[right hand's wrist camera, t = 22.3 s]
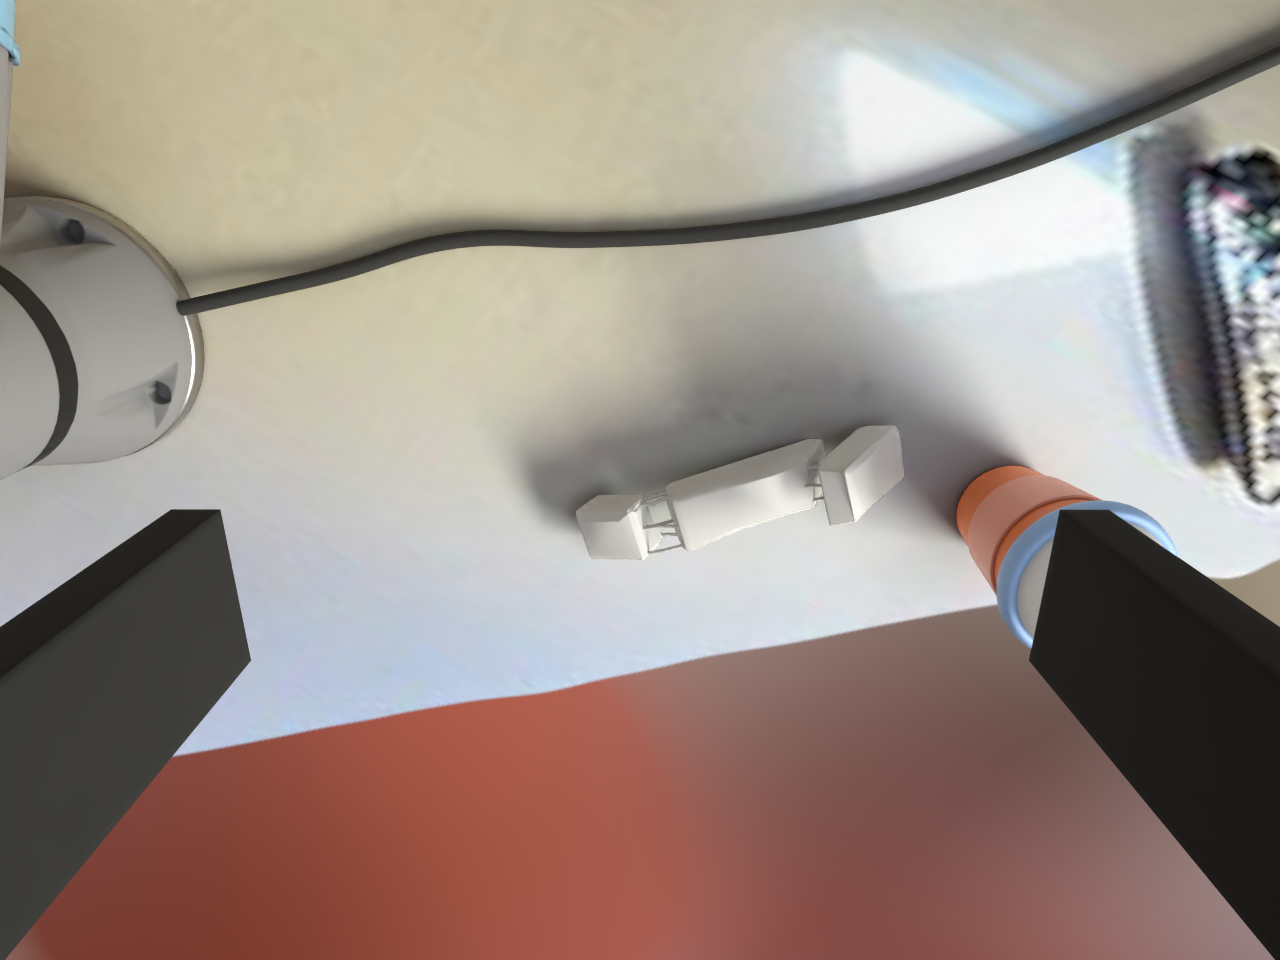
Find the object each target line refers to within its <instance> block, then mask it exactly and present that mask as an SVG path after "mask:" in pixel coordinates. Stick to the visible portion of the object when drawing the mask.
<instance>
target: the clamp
mask: <svg viewBox="0 0 1280 960" xmlns="http://www.w3.org/2000/svg"><path fill="white" fill-rule="evenodd" d="M904 476H905V474H904V466H903V458H902V450H901V441H900V433H899V430H898V429H897V428H896V426H894V425H876V426H865V427H861V428H858V429H857V430H856V431H854V432H853V433H852V434H851V435H850V436H849V437H848V438H846V439H845V440H844V441H843V442H842V443H841V444H839V445H838V446H837V447H836V448H835V449H834V450H832V451H831V452H830V453H829V454H828V455H827V456H826V457H825V451H824V444H823V440H819V439H806V440H803V441H800V442H797V443H793V444H790V445H787V446H784V447H781V448H778V449H775V450H771V451H768V452H765V453H762V454H759V455H756V456H753V457H749V458H746V459H743V460H740V461H737V462H734V463H731V464H727V465H724V466H721V467H718V468H715V469H712V470H709V471H706V472H702V473H699V474H696V475H693V476H690V477H687V478H684V479H680V480H677V481H674V482H671V483H669V484H668V485H667V486H666V487H665V489H664V492H662V493H659V494H655V495H652V496H648V497H644V496H643V495H641V494H624V495H597V496H596V497H594V498H593V499H591V500H590V501H589V502H587V503H586V504H585V505H583V506H582V507H580V508H579V509H578V510H577V511H576V518H577V520H578V523H579V526H580V529H581V532H582V535H583V538H584V541H585V544H586V547H587V550H588V553H589V556H590V557H591V559H627V560H643V559H645V558H646V557H647V556H648V555H649V554H655V553H661V552H666V551H670V550H674V549H677V548H681V547H683V548H684V549H686V550H687V551H691V550H695V549H697V548H700V547H702V546H704V545H707V544H709V543H711V542H713V541H716V540H718V539H720V538H723V537H725V536H727V535H730V534H732V533H734V532H737V531H739V530H742V529H745V528H748V527H751V526H754V525H757V524H761V523H764V522H767V521H770V520H773V519H776V518H779V517H783V516H786V515H790V514H793V513H797V512H801V511H805V510H809V509H813V508H814V507H815V506H816V503H817V501H820V500H824V502H825V506H826V511H827V515H828V520H829V524H830V526H833V525H839V524H846V523H852V522H857V520H858V519H859V518H860V517H861V516H862V515H863V514H864V513H865V512H866V511H867V510H868V509H869V508H870V507H871V506H872V505H873V504H874V503H875V502H876V501H878V500H879V499H880V498H881V497H882V496H883V495H885V494H886V493H887V492H888V491H889V490H890V489H892V488H893V487H894V486H895V485H896V484H897V483H899V482H900V481H901V480H902V479H903V478H904ZM822 493H823V497H820V496H821V494H822ZM663 495H665V497H664V498H661V499H659V500H656V501H654V502H649V503H646V501H645V500H649V499H653V498H656V497H659V496H663ZM664 500H667V504H668V507H669V511H670V514H671V517H672V519H671V520H668V521H665V522H661V523H658V524H655V523H654V521H653V520H652V517H651V515H650V512H649V509H648V506H651V505H654V504H657V503H659V502H662V501H664ZM672 522H673V524H674V525H665V524H669V523H672ZM658 528H675V531H676V533H661V532H660V530H659V529H658ZM663 536H678V538H679V540H680V542H681V544H680V545H676V546H673V547H669V548H665V549H660V550H654V549H655V548H656V547H657V546H658V545H659V543H660V541H661V539H662V537H663ZM653 550H654V551H653Z"/></svg>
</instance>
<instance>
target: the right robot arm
mask: <svg viewBox="0 0 1280 960" xmlns="http://www.w3.org/2000/svg"><path fill="white" fill-rule="evenodd" d="M14 22H15V0H0V480H1V479H3V478H5V477H7V476H9V475H11V474H13V473H15V472H17V471H20V470H22V469H24V468H26V467H29V466H41V465H64V464H87V463H98V462H104V461H109V460H113V459H116V458H120V457H123V456H127V455H130V454H132V453H135V452H138V451H140V450H142V449H144V448H146V447H147V446H149V445H151V444H153V443H155V442H157V441H159V440H161V439H162V438H163V437H165V436H166V435H168V434H169V433H170V432H171V431H173V430H174V429H175V428H176V427H177V426H178V425H179V424H180V423H181V422H182V421H183V419H184V418H185V417H186V415H187V414H188V412H189V411H190V409H191V407H192V406H193V404H194V402H195V400H196V397H197V395H198V392H199V389H200V385H201V382H202V377H203V370H204V343H203V337H202V331H201V327H200V323H199V319H198V316H197V313H199V312H204V311H208V310H212V309H217V308H221V307H226V306H230V305H234V304H239V303H243V302H247V301H252V300H256V299H261V298H265V297H270V296H274V295H279V294H283V293H288V292H292V291H297V290H301V289H306V288H310V287H314V286H318V285H323V284H327V283H331V282H335V281H339V280H342V279H346V278H349V277H353V276H356V275H360V274H363V273H366V272H369V271H372V270H375V269H378V268H381V267H384V266H387V265H390V264H393V263H396V262H399V261H403V260H406V259H409V258H413V257H416V256H420V255H424V254H429V253H433V252H438V251H443V250H449V249H456V248H464V247H475V246H532V247H554V248H598V247H630V246H655V245H674V244H688V243H701V242H711V241H721V240H731V239H740V238H749V237H757V236H765V235H773V234H780V233H787V232H794V231H800V230H806V229H812V228H817V227H823V226H828V225H833V224H838V223H843V222H848V221H853V220H857V219H862V218H866V217H871V216H875V215H880V214H884V213H888V212H892V211H896V210H900V209H904V208H908V207H912V206H916V205H920V204H923V203H927V202H930V201H934V200H937V199H941V198H944V197H947V196H951V195H954V194H957V193H960V192H963V191H967V190H970V189H973V188H976V187H979V186H982V185H985V184H988V183H991V182H994V181H997V180H1000V179H1003V178H1006V177H1009V176H1012V175H1015V174H1018V173H1021V172H1024V171H1026V170H1029V169H1032V168H1035V167H1037V166H1040V165H1043V164H1046V163H1048V162H1051V161H1054V160H1056V159H1059V158H1061V157H1064V156H1067V155H1069V154H1072V153H1074V152H1077V151H1079V150H1082V149H1084V148H1087V147H1089V146H1091V145H1094V144H1096V143H1099V142H1101V141H1104V140H1106V139H1109V138H1111V137H1113V136H1116V135H1118V134H1121V133H1123V132H1125V131H1128V130H1130V129H1133V128H1135V127H1138V126H1140V125H1142V124H1145V123H1147V122H1150V121H1152V120H1154V119H1157V118H1159V117H1161V116H1164V115H1166V114H1168V113H1171V112H1173V111H1175V110H1178V109H1180V108H1182V107H1185V106H1187V105H1189V104H1191V103H1194V102H1196V101H1198V100H1200V99H1203V98H1205V97H1207V96H1209V95H1212V94H1214V93H1216V92H1218V91H1220V90H1223V89H1225V88H1227V87H1229V86H1232V85H1234V84H1236V83H1238V82H1240V81H1243V80H1245V79H1247V78H1249V77H1252V76H1254V75H1256V74H1258V73H1260V72H1263V71H1265V70H1267V69H1270V68H1272V67H1274V66H1276V65H1279V64H1280V47H1277V48H1275V49H1273V50H1270V51H1268V52H1266V53H1264V54H1261V55H1259V56H1257V57H1255V58H1253V59H1250V60H1248V61H1246V62H1244V63H1241V64H1239V65H1237V66H1235V67H1233V68H1230V69H1228V70H1226V71H1224V72H1222V73H1219V74H1217V75H1215V76H1213V77H1211V78H1208V79H1206V80H1204V81H1202V82H1200V83H1197V84H1195V85H1193V86H1191V87H1188V88H1186V89H1184V90H1182V91H1179V92H1177V93H1175V94H1173V95H1170V96H1168V97H1166V98H1163V99H1161V100H1159V101H1156V102H1154V103H1152V104H1149V105H1147V106H1145V107H1142V108H1140V109H1137V110H1135V111H1133V112H1130V113H1128V114H1125V115H1123V116H1121V117H1118V118H1116V119H1113V120H1111V121H1109V122H1106V123H1104V124H1101V125H1099V126H1096V127H1094V128H1092V129H1089V130H1087V131H1084V132H1082V133H1079V134H1077V135H1074V136H1072V137H1069V138H1067V139H1064V140H1062V141H1059V142H1057V143H1054V144H1052V145H1049V146H1046V147H1044V148H1041V149H1038V150H1036V151H1033V152H1030V153H1027V154H1025V155H1022V156H1019V157H1016V158H1013V159H1010V160H1008V161H1005V162H1002V163H999V164H996V165H993V166H990V167H987V168H984V169H981V170H978V171H975V172H972V173H969V174H965V175H962V176H959V177H956V178H953V179H950V180H946V181H943V182H940V183H936V184H933V185H930V186H926V187H922V188H919V189H915V190H911V191H908V192H904V193H900V194H896V195H892V196H888V197H884V198H879V199H875V200H871V201H866V202H862V203H857V204H853V205H848V206H843V207H839V208H834V209H829V210H824V211H818V212H813V213H807V214H801V215H795V216H789V217H782V218H775V219H767V220H759V221H751V222H743V223H734V224H724V225H715V226H704V227H693V228H680V229H663V230H641V231H611V232H543V231H522V230H479V231H466V232H458V233H450V234H444V235H438V236H433V237H428V238H423V239H419V240H415V241H412V242H408V243H404V244H401V245H398V246H395V247H392V248H388V249H385V250H382V251H379V252H376V253H373V254H370V255H367V256H364V257H361V258H358V259H355V260H352V261H348V262H345V263H342V264H338V265H334V266H331V267H327V268H323V269H319V270H314V271H310V272H306V273H302V274H297V275H293V276H288V277H284V278H279V279H274V280H270V281H265V282H261V283H256V284H252V285H248V286H243V287H239V288H234V289H230V290H226V291H221V292H217V293H213V294H208V295H204V296H199V297H195V298H190V296H189V294H188V292H187V290H186V289H185V287H184V285H183V283H182V281H181V280H180V278H179V277H178V275H177V274H176V272H175V271H174V270H173V268H172V267H171V266H170V264H169V263H168V262H167V261H166V259H165V258H164V257H163V256H162V255H161V254H160V253H159V252H158V251H157V250H156V249H155V247H154V246H152V245H151V244H150V243H149V242H148V241H147V240H146V239H145V238H144V237H143V236H141V235H140V234H139V233H137V232H136V231H135V230H133V229H132V228H131V227H129V226H128V225H126V224H125V223H123V222H122V221H120V220H119V219H117V218H115V217H113V216H111V215H109V214H108V213H106V212H103V211H101V210H99V209H97V208H94V207H92V206H89V205H86V204H83V203H80V202H77V201H72V200H68V199H64V198H57V197H46V196H20V197H7V198H4V188H5V174H6V159H7V145H8V130H9V116H10V101H11V87H12V72H13V65H16V66H18V65H19V64H20V57H21V55H20V49H19V47H18V45H17V44H16V42H15V41H14ZM250 661H251V658H250V653H249V648H248V643H247V639H246V634H245V629H244V624H243V619H242V614H241V609H240V604H239V599H238V594H237V589H236V584H235V579H234V575H233V570H232V565H231V560H230V555H229V550H228V545H227V540H226V535H225V530H224V525H223V520H222V516H221V511H220V510H170V511H168V512H167V513H166V514H164V515H163V516H161V517H160V518H158V519H157V520H155V521H154V522H152V523H151V524H150V525H148V526H147V527H145V528H144V529H142V530H141V531H139V532H138V533H136V534H135V535H134V536H132V537H131V538H129V539H128V540H126V541H125V542H123V543H122V544H120V545H119V546H118V547H116V548H115V549H113V550H112V551H110V552H109V553H107V554H106V555H104V556H103V557H102V558H100V559H99V560H97V561H96V562H94V563H93V564H91V565H90V566H88V567H87V568H86V569H84V570H83V571H81V572H80V573H78V574H77V575H75V576H74V577H72V578H71V579H70V580H68V581H67V582H65V583H64V584H62V585H61V586H59V587H58V588H56V589H55V590H54V591H52V592H51V593H49V594H48V595H46V596H45V597H43V598H42V599H40V600H39V601H38V602H36V603H35V604H33V605H32V606H30V607H29V608H27V609H26V610H24V611H23V612H22V613H20V614H19V615H17V616H16V617H14V618H13V619H11V620H10V621H8V622H7V623H5V624H4V625H3V626H1V627H0V960H5V959H6V958H7V957H8V955H9V954H10V953H11V952H12V950H13V949H14V948H15V947H16V946H17V944H18V943H19V942H20V941H21V940H22V938H23V937H24V936H25V935H26V933H27V932H28V931H29V930H30V929H31V927H32V926H33V925H34V924H35V922H36V921H37V920H38V919H39V918H40V916H41V915H42V914H43V913H44V912H45V910H46V909H47V908H48V907H49V905H50V904H51V903H52V902H53V901H54V899H55V898H56V897H57V896H58V895H59V893H60V892H61V891H62V890H63V888H64V887H65V886H66V885H67V884H68V882H69V881H70V880H71V879H72V877H73V876H74V875H75V874H76V873H77V871H78V870H79V869H80V868H81V867H82V865H83V864H84V863H85V862H86V860H87V859H88V858H89V857H90V856H91V854H92V853H93V852H94V851H95V850H96V848H97V847H98V846H99V845H100V843H101V842H102V841H103V840H104V839H105V837H106V836H107V835H108V834H109V833H110V831H111V830H112V829H113V828H114V826H115V825H116V824H117V823H118V822H119V820H120V819H121V818H122V817H123V815H124V814H125V813H126V812H127V811H128V809H129V808H130V807H131V806H132V805H133V803H134V802H135V801H136V800H137V798H138V797H139V796H140V795H141V794H142V792H143V791H144V790H145V789H146V788H147V786H148V785H149V784H150V783H151V781H152V780H153V779H154V778H155V777H156V775H157V774H158V773H159V772H160V770H161V769H162V768H163V767H164V766H165V764H166V763H167V762H168V761H169V760H170V758H171V757H172V756H173V755H174V753H175V752H176V751H177V750H178V749H179V747H180V746H181V745H182V744H183V743H184V741H185V740H186V739H187V738H188V736H189V735H190V734H191V733H192V732H193V730H194V729H195V728H196V727H197V726H198V724H199V723H200V722H201V721H202V719H203V718H204V717H205V716H206V715H207V713H208V712H209V711H210V710H211V708H212V707H213V706H214V705H215V704H216V702H217V701H218V700H219V699H220V698H221V696H222V695H223V694H224V693H225V691H226V690H227V689H228V688H229V687H230V685H231V684H232V683H233V682H234V681H235V679H236V678H237V677H238V676H239V674H240V673H241V672H242V671H243V670H244V668H245V667H246V666H247V665H248V663H249V662H250ZM1029 661H1030V662H1031V663H1032V665H1033V666H1034V667H1035V668H1036V670H1037V671H1038V672H1039V673H1040V674H1041V676H1042V677H1043V678H1044V679H1045V681H1046V682H1047V683H1048V684H1049V685H1050V687H1051V688H1052V689H1053V690H1054V691H1055V693H1056V694H1057V695H1058V696H1059V698H1060V699H1061V700H1062V701H1063V702H1064V704H1065V705H1066V706H1067V707H1068V708H1069V710H1070V711H1071V712H1072V713H1073V715H1074V716H1075V717H1076V718H1077V719H1078V721H1079V722H1080V723H1081V724H1082V726H1083V727H1084V728H1085V729H1086V730H1087V732H1088V733H1089V734H1090V735H1091V736H1092V738H1093V739H1094V740H1095V741H1096V743H1097V744H1098V745H1099V746H1100V747H1101V749H1102V750H1103V751H1104V752H1105V753H1106V755H1107V756H1108V757H1109V758H1110V759H1111V761H1112V762H1113V763H1114V764H1115V766H1116V767H1117V768H1118V769H1119V770H1120V772H1121V773H1122V774H1123V775H1124V777H1125V778H1126V779H1127V780H1128V781H1129V783H1130V784H1131V785H1132V786H1133V788H1134V789H1135V790H1136V791H1137V792H1138V794H1139V795H1140V796H1141V797H1142V798H1143V800H1144V801H1145V802H1146V803H1147V805H1148V806H1149V807H1150V808H1151V809H1152V811H1153V812H1154V813H1155V814H1156V815H1157V817H1158V818H1159V819H1160V820H1161V822H1162V823H1163V824H1164V825H1165V826H1166V828H1167V829H1168V830H1169V831H1170V832H1171V834H1172V835H1173V836H1174V837H1175V839H1176V840H1177V841H1178V842H1179V843H1180V845H1181V846H1182V847H1183V848H1184V850H1185V851H1186V852H1187V853H1188V854H1189V856H1190V857H1191V858H1192V859H1193V860H1194V862H1195V863H1196V864H1197V865H1198V867H1199V868H1200V869H1201V870H1202V871H1203V873H1204V874H1205V875H1206V876H1207V877H1208V879H1209V880H1210V881H1211V882H1212V884H1213V885H1214V886H1215V887H1216V888H1217V890H1218V891H1219V892H1220V893H1221V895H1222V896H1223V897H1224V898H1225V899H1226V901H1227V902H1228V903H1229V904H1230V905H1231V907H1232V908H1233V909H1234V910H1235V912H1236V913H1237V914H1238V915H1239V916H1240V918H1241V919H1242V920H1243V921H1244V922H1245V924H1246V925H1247V926H1248V927H1249V929H1250V930H1251V931H1252V932H1253V933H1254V935H1255V936H1256V937H1257V938H1258V939H1259V941H1260V942H1261V943H1262V944H1263V946H1264V947H1265V948H1266V949H1267V950H1268V952H1269V953H1270V954H1271V955H1272V957H1273V958H1274V959H1275V960H1280V627H1279V626H1277V625H1276V624H1274V623H1273V622H1272V621H1270V620H1269V619H1267V618H1266V617H1264V616H1263V615H1261V614H1260V613H1258V612H1257V611H1256V610H1254V609H1253V608H1251V607H1250V606H1248V605H1247V604H1245V603H1244V602H1242V601H1241V600H1240V599H1238V598H1237V597H1235V596H1234V595H1232V594H1231V593H1229V592H1228V591H1226V590H1225V589H1224V588H1222V587H1221V586H1219V585H1218V584H1216V583H1215V582H1213V581H1212V580H1210V579H1209V578H1208V577H1206V576H1205V575H1203V574H1202V573H1200V572H1199V571H1197V570H1196V569H1194V568H1193V567H1192V566H1190V565H1189V564H1187V563H1186V562H1184V561H1183V560H1181V559H1180V558H1178V557H1177V556H1176V555H1174V554H1173V553H1171V552H1170V551H1168V550H1167V549H1165V548H1164V547H1162V546H1161V545H1160V544H1158V543H1157V542H1155V541H1154V540H1152V539H1151V538H1149V537H1148V536H1146V535H1145V534H1144V533H1142V532H1141V531H1139V530H1138V529H1136V528H1135V527H1133V526H1132V525H1130V524H1129V523H1128V522H1126V521H1125V520H1123V519H1122V518H1120V517H1119V516H1117V515H1116V514H1114V513H1113V512H1112V511H1110V510H1060V511H1059V516H1058V520H1057V525H1056V530H1055V535H1054V540H1053V545H1052V550H1051V555H1050V560H1049V565H1048V570H1047V575H1046V579H1045V584H1044V589H1043V594H1042V599H1041V604H1040V609H1039V614H1038V619H1037V624H1036V629H1035V634H1034V639H1033V643H1032V648H1031V653H1030V658H1029Z"/></svg>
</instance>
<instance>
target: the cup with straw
mask: <svg viewBox="0 0 1280 960" xmlns="http://www.w3.org/2000/svg"><path fill="white" fill-rule="evenodd" d="M1060 510H1110V511H1112V512H1113V513H1114V514H1116V515H1117V516H1119V517H1120V518H1122V519H1123V520H1125V521H1126V522H1128V523H1129V524H1130V525H1132V526H1133V527H1135V528H1136V529H1138V530H1139V531H1141V532H1142V533H1144V534H1145V535H1146V536H1148V537H1149V538H1151V539H1152V540H1154V541H1155V542H1157V543H1158V544H1160V545H1161V546H1162V547H1164V548H1165V549H1167V550H1168V551H1170V552H1171V553H1173V554H1174V555H1176V556H1177V557H1178V555H1177V551H1176V549H1175V546H1174V544H1173V542H1172V540H1171V538H1170V536H1169V535H1168V534H1167V532H1166V531H1165V529H1164V528H1163V527H1162V526H1161V525H1160V524H1159V523H1158V522H1157V521H1156V520H1155V519H1153V518H1152V517H1151V516H1149V515H1148V514H1146V513H1145V512H1143V511H1141V510H1139V509H1137V508H1135V507H1132V506H1129V505H1126V504H1123V503H1119V502H1113V501H1103V500H1101V499H1099V498H1097V497H1095V496H1093V495H1090V494H1088V493H1086V492H1084V491H1082V490H1080V489H1078V488H1076V487H1074V486H1072V485H1070V484H1068V483H1066V482H1064V481H1062V480H1059V479H1057V478H1053V477H1050V476H1045V475H1043V474H1040V473H1038V472H1036V471H1034V470H1032V469H1029V468H1026V467H1022V466H1003V467H998V468H995V469H992V470H990V471H988V472H986V473H984V474H982V475H980V476H979V477H978V478H976V479H975V480H974V481H973V482H972V483H971V484H970V485H969V486H968V487H967V489H966V490H965V491H964V493H963V495H962V497H961V499H960V501H959V504H958V508H957V524H958V528H959V531H960V533H961V535H962V537H963V539H964V540H965V542H966V543H967V545H968V546H969V550H970V553H971V556H972V558H973V560H974V561H975V563H976V564H977V566H978V568H979V569H980V571H981V572H982V574H983V575H984V577H985V578H986V580H987V582H988V583H989V585H990V586H991V588H992V589H993V591H994V592H995V594H996V595H997V603H998V607H999V610H1000V613H1001V616H1002V618H1003V620H1004V622H1005V623H1006V625H1007V627H1008V628H1009V630H1010V631H1011V632H1012V633H1013V634H1014V635H1015V636H1016V637H1017V638H1018V639H1019V640H1020V641H1021V642H1022V643H1024V644H1025V645H1026V646H1028V647H1029V648H1032V643H1033V639H1034V634H1035V629H1036V624H1037V619H1038V614H1039V609H1040V604H1041V599H1042V594H1043V589H1044V584H1045V579H1046V575H1047V570H1048V565H1049V560H1050V555H1051V550H1052V545H1053V540H1054V535H1055V530H1056V525H1057V520H1058V516H1059V511H1060Z"/></svg>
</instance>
